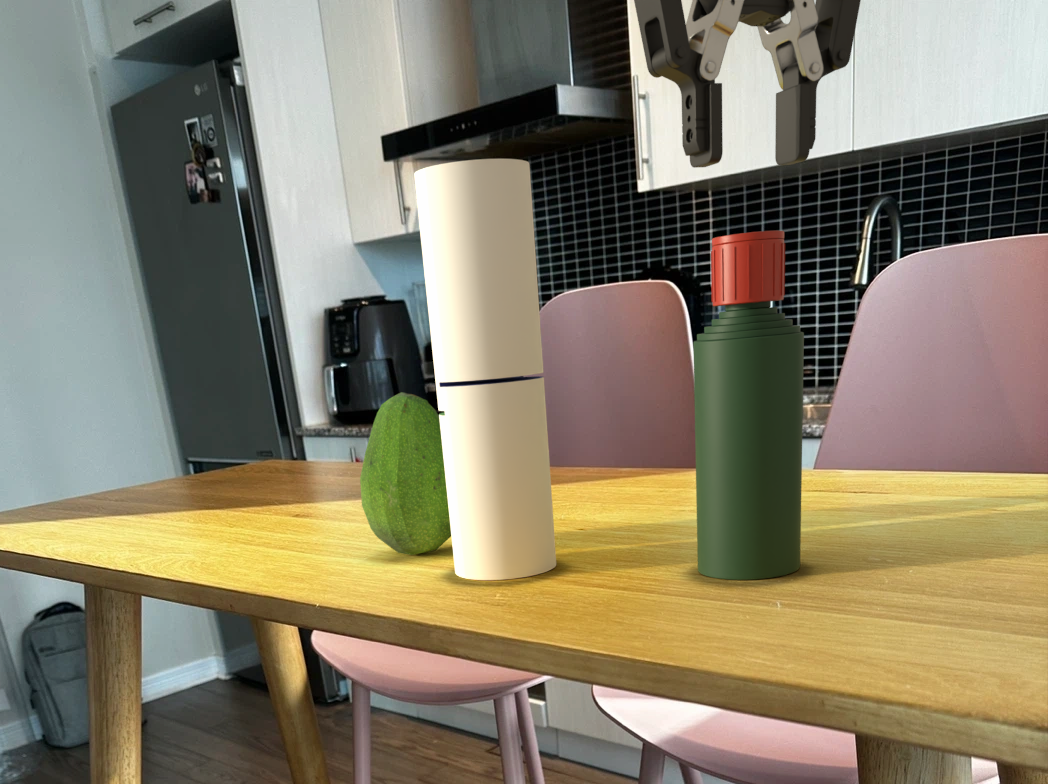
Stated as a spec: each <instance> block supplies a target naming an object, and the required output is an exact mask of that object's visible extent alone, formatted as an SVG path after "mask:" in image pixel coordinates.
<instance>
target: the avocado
mask: <svg viewBox="0 0 1048 784" xmlns="http://www.w3.org/2000/svg"><path fill="white" fill-rule="evenodd" d="M363 456H364V457H363V462H362V467H361V472H360V477H359V483H360V484H359V485H360V497H361V507H362V510H363V512H364V515H365V517H366V520H367V523H368V525H369V528H370V530H371V531H372V533H373V534H374V535H375V537H376V538H377V539H379V540H380V541H381V542H382V543H384V544H385V545H386V546H388V547H389V548H391V549H392V550H393V551H395V552H397V554H402V555H410V556H414V555H419V554H425V553H430V552H434V551H437V550H438V549H439V548H440V547H441V546H443V544H444V543H446V542H447V541H448V540H449V539H450V538H452V537H451V527H450V517H449V507H448V498H447V488H446V478H445V468H444V459H443V449H442V439H441V429H440V420H439V414H438V412H437V411H436V409H435V408H434V407H433V406H432V405H431V403H429V401H428V400H427V399H424V398H422V397H420V396H418V395H416V394H412V393H407V392H402V391H401V392H399V393H397V394H395V395H393V396H391V397H390V398H388V399H387V400H386V401H384V402H383V403H381V405H380V407H379V409H378V411H377V412H376V415H375V417H374V420H373V424H372V427H371V431H370V435H369V438H368V441H367V445H366V448H365V453H364V455H363Z"/></svg>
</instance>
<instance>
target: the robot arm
mask: <svg viewBox="0 0 1048 784" xmlns="http://www.w3.org/2000/svg"><path fill="white" fill-rule="evenodd" d="M633 2H634V7H635V13H636V17H637V22H638V28H639V32H640V37H641V43H642V47H643V53H644V59H645V62H646V68H647V71H648V73H649V74H650V75H651V76H652V77H653V78H656V79H657V78H661V77H663V78H665V79H667V80H669V81H671V82H673V83H675V84H676V85H677V87H678V88H679V90H680V94H681V132H682V135H681V136H682V138H681V140H682V148H683V152H684V155H685V157H686V156H687V157H689V163H690V166H691V167H692V168H707V167H710V166H713V165H716V164H719V163H720V162H721V161H722V158H723V151H724V150H723V147H724V146H723V82H716V79H717V78H718V76H719V74H720V71H721V68H722V64H723V61H724V58H725V54H726V50H727V46H728V43H729V40H730V38H731V36H732V35H733V34H734V33H735V31H736V29H737V27H738V24H739V23H742V24H745V25H747V26H750V27H757V31H758V34H759V37H760V41H761V45H762V47H763V49H764V50H766V51H768V52H769V54H770V56H771V61H772V64H773V67H774V71H775V74H776V78H777V81H778V85H779V87H780V89H781V91H779V92H776V93H775V145H774V146H775V149H774V150H775V152H774V153H775V157H774V159H775V162H776V164H777V165H778V166H791V165H795V164H798V163H802V162H805V161H806V160H807V159H808V157H809V155H810V150H812V149H813V148H814V145H815V141H816V136H817V135H816V133H817V131H816V129H817V128H816V126H817V119H816V118H817V90H818V86H819V85H818V84H819V82H820V81H821V79H822V78H823V77H825V76H827V75H829V74H831V73H833V72H835V71H838V70H841V69H844V68H846V66H847V65H848V64H849V62H850V59H851V56H852V55H851V54H852V49H853V44H854V38H855V32H856V28H857V22H858V16H859V12H860V6H861V0H692V1H691V4H690V8H689V12H688V16H687V20H686V19H685V13H684V8H683V7H684V6H683V2H682V0H633ZM789 13H790V20H789V22H788V23H785V22H784V21H783V20H782V18H784V17H785V16H786V15H787V14H789Z"/></svg>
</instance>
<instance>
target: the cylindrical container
mask: <svg viewBox="0 0 1048 784" xmlns="http://www.w3.org/2000/svg"><path fill="white" fill-rule="evenodd" d="M530 167H531V166H530V162H529V161H527V160H523V159H519V158H518V159H517V158H481V159H468V160H460V161H452V162H445V163H440V164H435V165H429V166H426V167H423V168H421V169H418V170H416V171H415V172H414V173H413V176H414V186H415V193H416V195H415V196H416V205H417V206H416V207H417V214H418V223H419V234H420V245H421V254H422V263H423V273H424V283H425V294H426V303H427V312H428V321H429V322H428V323H429V331H430V342H431V350H432V351H431V352H432V360H433V361H432V362H433V369H434V379H435V381H434V382H435V389H436V399H437V408H438V412H440V413H439V414H438V416H439V420H440V429H441V439H442V449H443V459H444V468H445V478H446V488H447V498H448V507H449V517H450V527H451V537H450V538H451V545H452V555H453V565H454V573H455V575H456V576H458V577H459V578H463V579H468V580H476V581H503V580H513V579H520V578H521V579H522V578H526V577H527V578H528V577H532V576H536V575H541V574H544V573H547V572H549V571H551V570H553V569H554V568H556V566H557V553H556V552H557V551H556V539H555V538H556V537H555V521H554V507H553V495H552V479H551V478H552V477H551V464H550V462H551V461H550V448H549V447H550V446H549V435H548V432H549V431H548V421H547V420H548V419H547V403H546V388H545V377H544V376H541V375H540V376H539V374H543V373H544V359H543V358H544V357H543V345H542V344H543V343H542V331H541V316H540V315H541V314H540V300H539V299H540V297H539V285H538V284H539V283H538V271H537V270H538V269H537V256H536V239H535V225H534V212H533V211H534V209H533V196H532V195H533V194H532V181H531V168H530ZM531 375H532V376H531ZM533 375H537V376H533Z"/></svg>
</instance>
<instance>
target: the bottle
mask: <svg viewBox="0 0 1048 784" xmlns="http://www.w3.org/2000/svg"><path fill="white" fill-rule="evenodd" d="M724 307H725V309H724V310H725V311H719V312H718V318H715V319H714V318H713V319H711V325H710V326H704V328H703V329H704V330H703V332H704V333H697V334H696V340H694V341H693V343H692V345H693V346H692V347H693V395H694V396H693V397H694V399H693V400H694V442H695V443H694V445H695V446H694V447H695V490H696V491H695V492H696V493H695V498H696V500H695V501H696V546H697V552H696V553H697V571H698V573H699V574H700V575H703V576H705V577H707V578H708V577H709V578H713V579H720V580H732V581H753V580H766V579H774V578H778V577H784V576H787V575H790V574H792V573H795V572H797V571H798V570H799V569H800V567H801V543H802V542H801V540H802V537H801V536H802V534H801V533H802V483H803V482H802V478H803V475H802V474H803V473H802V472H803V421H804V420H803V418H804V417H803V416H804V414H803V412H804V361H805V359H804V356H805V355H804V354H805V353H804V350H805V332H804V331H801V325H798V324H797V325H793V319H786V313H785V312H781V313H780V312H779V313H778V307H777V306H772V301H766V302H754V303H743V304H733V305H725V306H724Z"/></svg>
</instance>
